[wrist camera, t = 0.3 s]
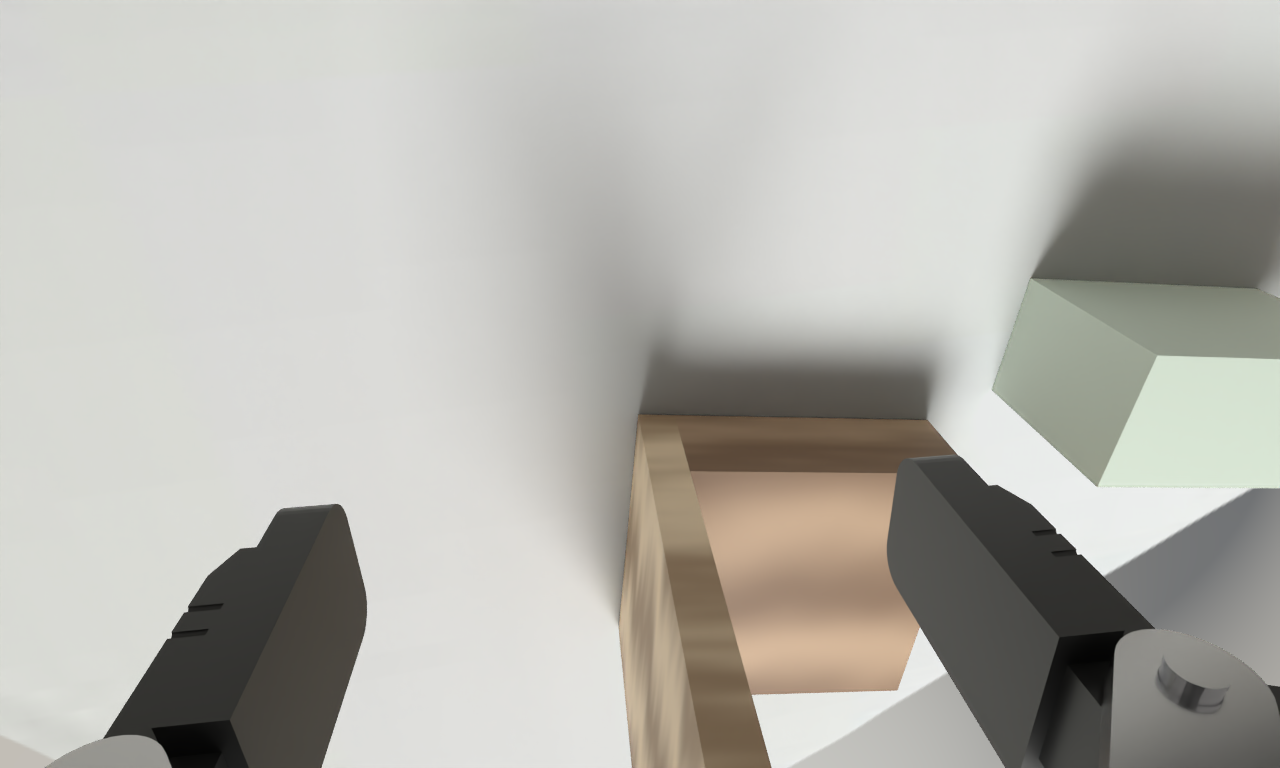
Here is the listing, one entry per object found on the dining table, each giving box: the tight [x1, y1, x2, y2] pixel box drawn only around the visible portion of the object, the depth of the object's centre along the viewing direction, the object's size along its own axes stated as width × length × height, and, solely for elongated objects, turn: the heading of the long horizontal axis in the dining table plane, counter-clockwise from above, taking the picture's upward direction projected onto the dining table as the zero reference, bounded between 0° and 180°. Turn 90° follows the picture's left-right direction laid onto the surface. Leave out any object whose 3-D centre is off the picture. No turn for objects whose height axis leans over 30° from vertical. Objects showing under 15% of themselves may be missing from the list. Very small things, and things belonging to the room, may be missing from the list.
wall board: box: [619, 414, 771, 768], centre depth 25 cm, size 12×2×17 cm, turn 175°
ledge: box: [675, 415, 957, 695], centre depth 32 cm, size 12×11×4 cm
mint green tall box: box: [992, 278, 1280, 488], centre depth 28 cm, size 5×11×7 cm, turn 85°
